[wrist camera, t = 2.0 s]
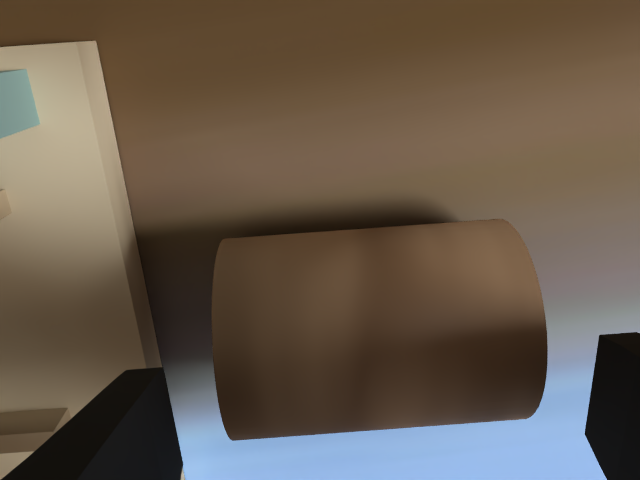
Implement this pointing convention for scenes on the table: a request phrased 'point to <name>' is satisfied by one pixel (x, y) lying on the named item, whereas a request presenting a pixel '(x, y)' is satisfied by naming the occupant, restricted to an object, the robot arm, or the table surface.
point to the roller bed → (62, 247)
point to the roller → (376, 329)
